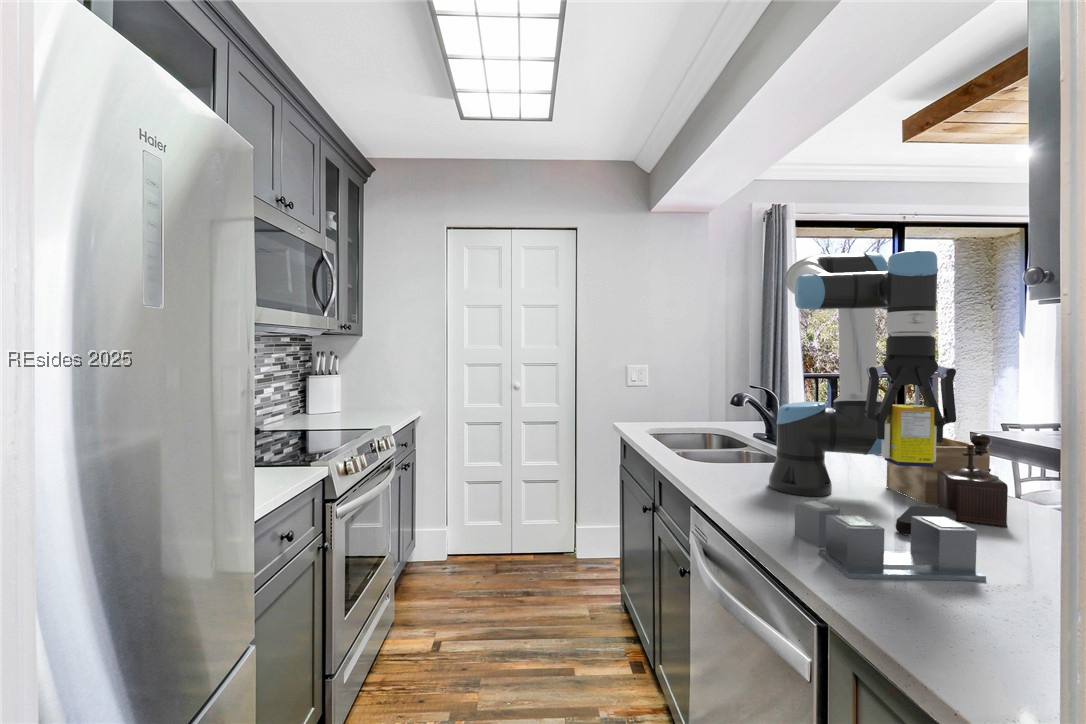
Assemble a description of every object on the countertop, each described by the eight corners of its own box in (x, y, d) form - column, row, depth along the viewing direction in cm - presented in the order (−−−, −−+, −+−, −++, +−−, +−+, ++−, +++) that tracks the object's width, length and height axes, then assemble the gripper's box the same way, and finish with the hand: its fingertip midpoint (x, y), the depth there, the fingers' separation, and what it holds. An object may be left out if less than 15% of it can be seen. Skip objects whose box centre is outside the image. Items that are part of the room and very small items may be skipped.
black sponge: (945, 546, 100) (945, 527, 100) (893, 535, 106) (894, 517, 106) (957, 526, 112) (958, 509, 112) (910, 517, 118) (910, 501, 118)
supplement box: (917, 461, 99) (919, 404, 99) (934, 468, 94) (935, 407, 93) (883, 459, 101) (884, 403, 100) (897, 466, 95) (898, 406, 95)
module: (794, 536, 104) (795, 501, 104) (814, 534, 106) (814, 499, 106) (818, 547, 99) (819, 510, 98) (839, 544, 100) (839, 507, 100)
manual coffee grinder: (1012, 529, 110) (1015, 444, 109) (947, 521, 114) (949, 439, 114) (987, 508, 124) (989, 433, 123) (930, 502, 128) (932, 429, 128)
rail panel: (818, 554, 95) (819, 511, 95) (941, 556, 95) (942, 512, 94) (848, 578, 85) (849, 530, 85) (986, 581, 85) (987, 532, 84)
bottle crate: (886, 487, 142) (887, 436, 141) (942, 488, 141) (944, 437, 141) (925, 504, 127) (926, 447, 126) (988, 505, 126) (990, 447, 126)
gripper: (854, 334, 97) (851, 457, 97) (983, 334, 90) (980, 467, 90) (847, 336, 104) (845, 450, 104) (966, 335, 97) (963, 459, 97)
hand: (907, 458), depth 97 cm, fingers closed on supplement box, 6 cm apart
